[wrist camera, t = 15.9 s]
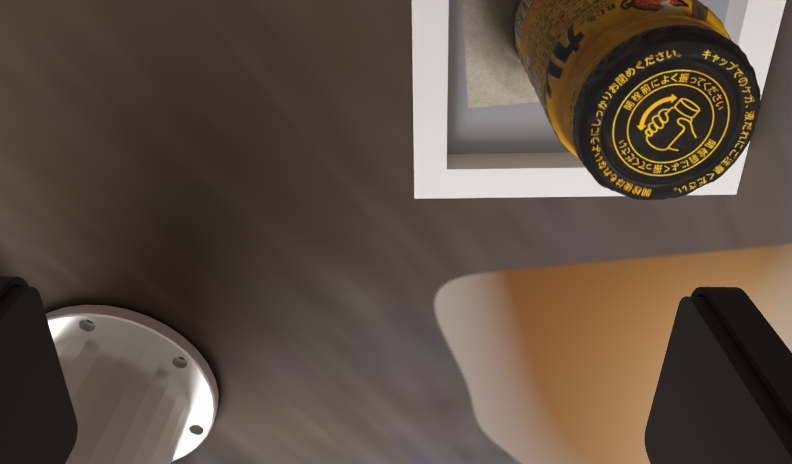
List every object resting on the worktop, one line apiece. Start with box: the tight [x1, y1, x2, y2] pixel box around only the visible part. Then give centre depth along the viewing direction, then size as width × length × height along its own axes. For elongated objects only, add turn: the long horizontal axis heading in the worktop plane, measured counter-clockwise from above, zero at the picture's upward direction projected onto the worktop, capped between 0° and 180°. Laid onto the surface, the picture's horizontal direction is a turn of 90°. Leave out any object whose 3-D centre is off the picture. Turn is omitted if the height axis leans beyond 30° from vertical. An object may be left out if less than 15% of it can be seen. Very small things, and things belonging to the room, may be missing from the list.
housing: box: [412, 0, 786, 199], centre depth 29 cm, size 16×15×2 cm
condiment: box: [462, 0, 761, 200], centre depth 25 cm, size 7×8×12 cm
